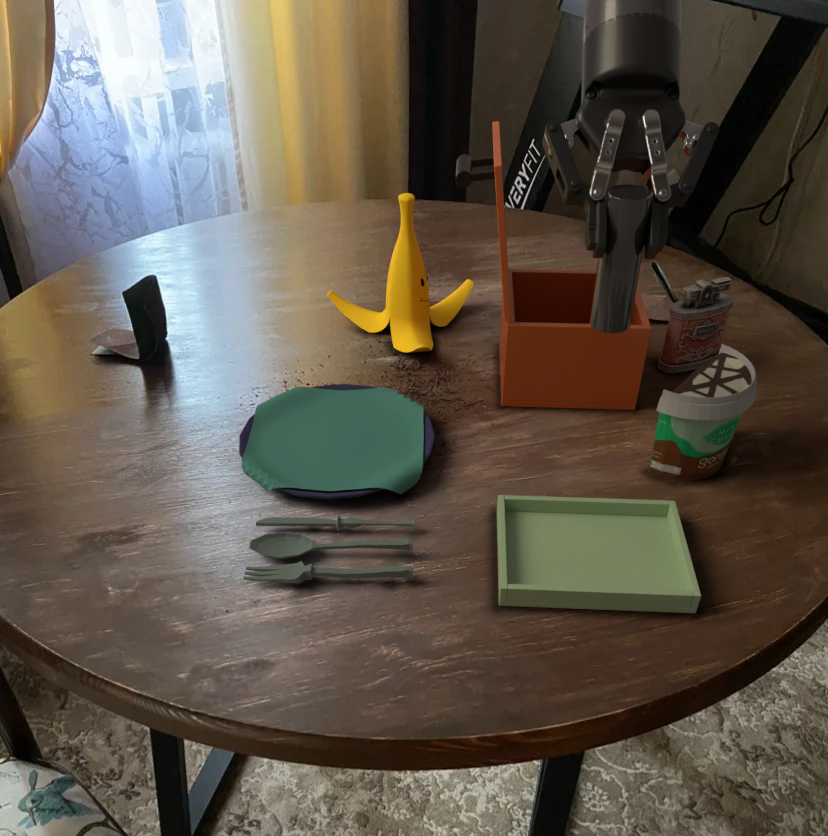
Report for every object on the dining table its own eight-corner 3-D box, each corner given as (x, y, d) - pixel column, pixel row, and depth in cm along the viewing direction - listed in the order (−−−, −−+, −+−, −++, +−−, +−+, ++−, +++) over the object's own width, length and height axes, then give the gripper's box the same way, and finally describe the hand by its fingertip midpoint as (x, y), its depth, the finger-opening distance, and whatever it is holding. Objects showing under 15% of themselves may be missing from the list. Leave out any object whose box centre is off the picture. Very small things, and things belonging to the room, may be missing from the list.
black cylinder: (627, 314, 72) (649, 184, 65) (632, 333, 70) (656, 200, 63) (587, 314, 73) (605, 183, 65) (591, 333, 70) (610, 199, 63)
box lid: (499, 120, 86) (455, 126, 86) (501, 165, 75) (452, 171, 76) (507, 264, 96) (468, 268, 96) (511, 321, 85) (467, 325, 86)
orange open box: (619, 348, 102) (633, 271, 95) (635, 410, 92) (651, 328, 85) (499, 345, 102) (504, 268, 96) (501, 406, 92) (507, 325, 86)
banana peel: (474, 303, 111) (480, 172, 100) (426, 374, 97) (427, 232, 86) (359, 285, 115) (352, 157, 104) (298, 350, 102) (283, 212, 91)
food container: (697, 505, 79) (723, 417, 73) (640, 479, 82) (660, 391, 76) (756, 449, 86) (784, 363, 79) (701, 426, 89) (724, 341, 83)
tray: (670, 517, 78) (675, 500, 77) (695, 613, 69) (701, 595, 68) (496, 511, 79) (497, 494, 77) (498, 606, 70) (500, 588, 68)
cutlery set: (434, 398, 94) (434, 380, 92) (435, 590, 71) (436, 570, 70) (257, 397, 94) (254, 380, 92) (202, 588, 71) (197, 568, 70)
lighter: (669, 375, 97) (687, 294, 90) (651, 362, 99) (668, 282, 93) (724, 361, 99) (746, 281, 93) (706, 348, 102) (726, 269, 95)
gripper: (545, 8, 63) (538, 233, 62) (738, 9, 62) (734, 236, 61) (536, 70, 70) (530, 271, 69) (708, 71, 69) (704, 274, 68)
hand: (625, 253), depth 65 cm, fingers closed on black cylinder, 3 cm apart
